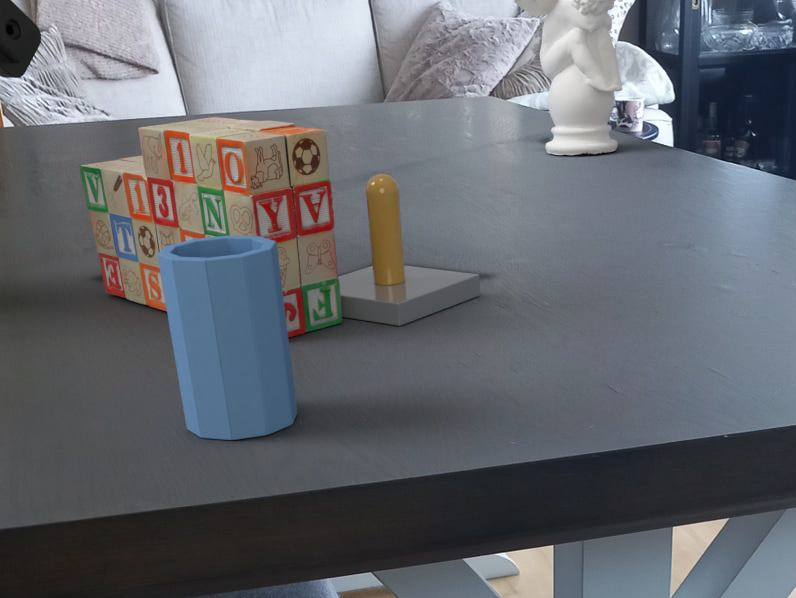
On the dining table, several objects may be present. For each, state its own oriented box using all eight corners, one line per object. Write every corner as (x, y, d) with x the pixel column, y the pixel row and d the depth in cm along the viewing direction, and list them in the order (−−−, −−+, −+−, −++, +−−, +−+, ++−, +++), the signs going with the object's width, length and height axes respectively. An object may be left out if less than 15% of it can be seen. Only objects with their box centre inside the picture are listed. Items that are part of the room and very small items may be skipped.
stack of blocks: (102, 295, 91) (68, 119, 85) (175, 279, 94) (147, 109, 88) (269, 344, 77) (243, 137, 71) (346, 322, 81) (327, 124, 75)
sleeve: (164, 428, 63) (133, 254, 59) (245, 397, 68) (221, 231, 63) (239, 447, 60) (212, 264, 56) (319, 413, 65) (299, 240, 60)
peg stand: (300, 310, 84) (285, 180, 80) (383, 282, 90) (374, 160, 86) (399, 326, 79) (389, 189, 75) (480, 295, 86) (475, 167, 81)
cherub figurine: (631, 154, 142) (634, -61, 131) (529, 163, 139) (524, -56, 129) (597, 142, 152) (597, -59, 141) (502, 150, 150) (495, -53, 139)
